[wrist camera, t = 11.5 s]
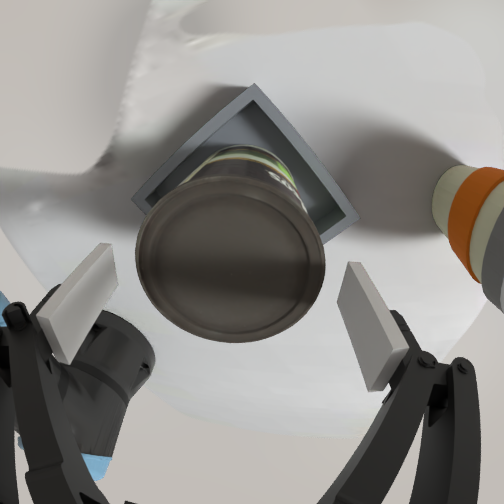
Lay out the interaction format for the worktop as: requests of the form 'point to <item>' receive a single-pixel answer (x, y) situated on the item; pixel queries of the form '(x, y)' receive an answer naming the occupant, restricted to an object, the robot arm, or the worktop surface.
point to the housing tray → (265, 136)
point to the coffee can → (232, 249)
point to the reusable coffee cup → (474, 223)
